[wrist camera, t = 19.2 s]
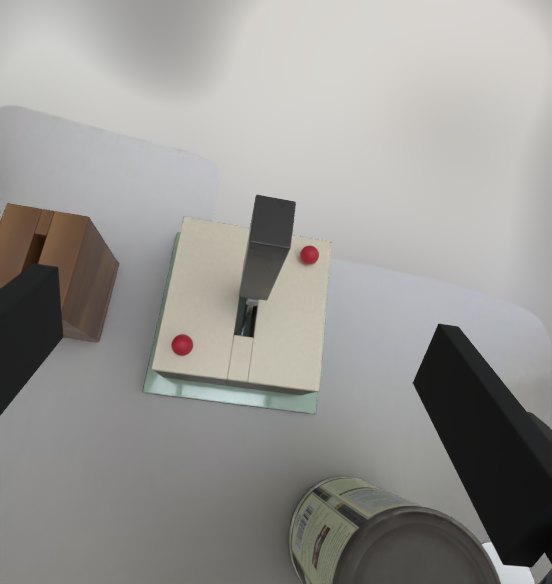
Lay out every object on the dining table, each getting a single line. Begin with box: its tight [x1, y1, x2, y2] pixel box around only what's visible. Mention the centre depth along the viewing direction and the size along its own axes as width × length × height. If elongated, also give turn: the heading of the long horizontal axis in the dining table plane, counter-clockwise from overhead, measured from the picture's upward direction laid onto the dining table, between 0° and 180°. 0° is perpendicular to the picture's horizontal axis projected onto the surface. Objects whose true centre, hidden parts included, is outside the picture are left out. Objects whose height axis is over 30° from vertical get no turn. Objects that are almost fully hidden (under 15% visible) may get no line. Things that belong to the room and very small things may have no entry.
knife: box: [239, 195, 296, 335], centre depth 29 cm, size 2×3×21 cm, turn 173°
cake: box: [152, 217, 331, 395], centre depth 35 cm, size 13×13×8 cm
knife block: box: [0, 203, 119, 342], centre depth 34 cm, size 6×8×10 cm
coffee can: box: [289, 476, 501, 584], centre depth 29 cm, size 10×10×14 cm
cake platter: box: [143, 233, 318, 414], centre depth 39 cm, size 16×16×1 cm
